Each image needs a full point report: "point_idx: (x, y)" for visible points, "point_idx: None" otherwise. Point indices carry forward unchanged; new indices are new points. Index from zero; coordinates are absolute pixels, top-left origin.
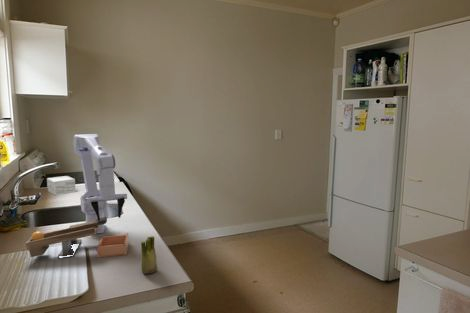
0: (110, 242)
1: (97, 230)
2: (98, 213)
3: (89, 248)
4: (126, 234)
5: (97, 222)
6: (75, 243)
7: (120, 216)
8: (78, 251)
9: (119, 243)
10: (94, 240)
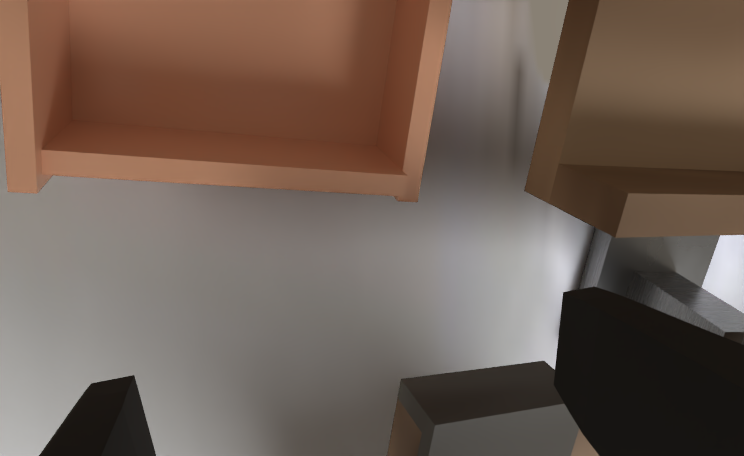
0: (294, 145)
1: (561, 46)
2: (726, 367)
3: (508, 147)
4: (30, 129)
5: (541, 393)
6: (633, 264)
7: (77, 405)
8: None
9: (176, 132)
10: (453, 345)
